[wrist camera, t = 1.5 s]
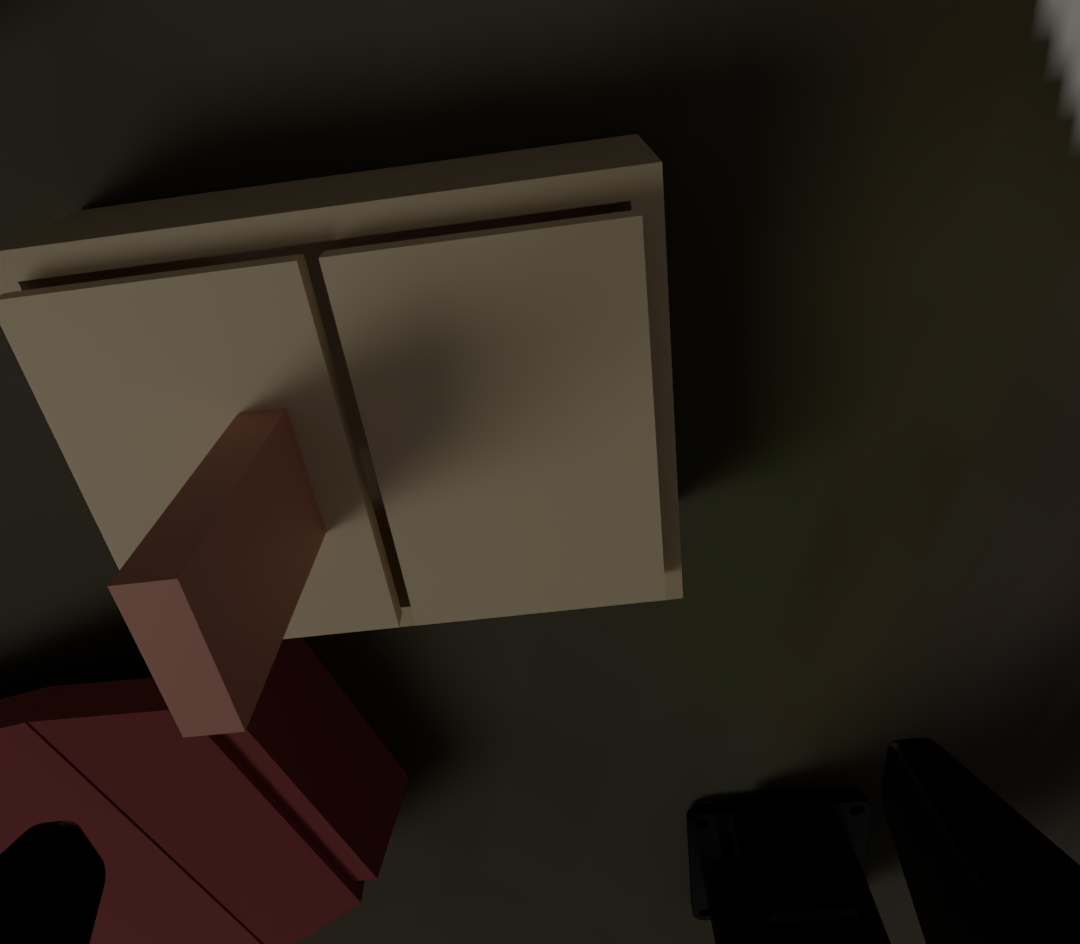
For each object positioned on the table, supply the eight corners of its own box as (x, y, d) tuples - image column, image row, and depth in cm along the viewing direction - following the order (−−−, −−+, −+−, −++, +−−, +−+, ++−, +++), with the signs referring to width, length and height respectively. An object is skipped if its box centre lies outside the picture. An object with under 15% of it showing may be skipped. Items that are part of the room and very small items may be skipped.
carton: (-24, 877, 37) (435, 807, 29) (-109, 991, 33) (398, 946, 25) (-242, 707, 32) (250, 563, 24) (-376, 819, 28) (163, 690, 20)
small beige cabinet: (660, 509, 23) (683, 597, 19) (218, 557, 23) (164, 651, 20) (637, 133, 18) (662, 162, 14) (78, 210, 18) (-27, 254, 15)
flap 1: (402, 613, 19) (351, 839, 14) (167, 637, 19) (30, 868, 14) (304, 253, 15) (176, 382, 9) (4, 292, 15) (-278, 438, 10)
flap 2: (662, 586, 19) (666, 599, 18) (418, 611, 19) (416, 625, 18) (638, 209, 14) (642, 214, 14) (324, 250, 15) (318, 258, 14)
